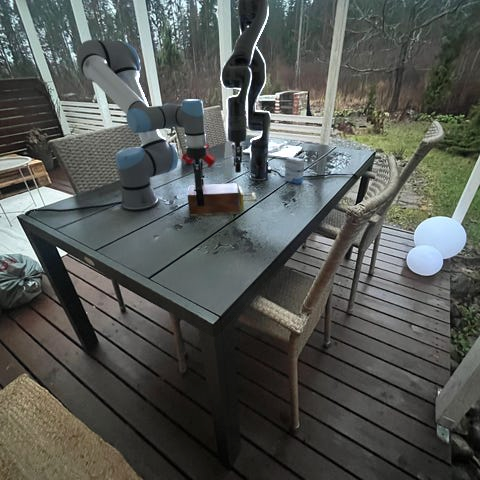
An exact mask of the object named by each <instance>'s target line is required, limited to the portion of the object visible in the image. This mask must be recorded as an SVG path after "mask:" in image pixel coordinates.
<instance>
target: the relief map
mask: <svg viewBox="0 0 480 480" xmlns="http://www.w3.org/2000/svg"><path fill="white" fill-rule="evenodd" d="M302 147H303V146H294V145H292V144H290V143H289V142H288V141H284V142H282V143H280V144H279V143H278V142H276V141H273V140H272V139H271V138H269V145H268V157H271V158H277V159H285V160H286V159H287V158H289V157H296V156H297V155H298V154H299V153H300V152H302V151H303V150H304V148H303V149H302ZM250 148H251V145H250V146H249V147H248V148H247V149H245V150H242V154H247V155H248V154H249V155H250ZM296 153H297V154H296Z"/></svg>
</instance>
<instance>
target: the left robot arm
mask: <svg viewBox="0 0 480 480" xmlns="http://www.w3.org/2000/svg"><path fill="white" fill-rule="evenodd" d="M75 59H76V64H77V66H78V69H79V71H80V72H81V73H82V75H83V76H84V77H85V78H86V79H87V80H88V81H89V82H92V83H94V84H95V85H97V86H98V87H99V89H100V90H102V91H103V93H104V94H105V95H106V96H107V97H108V98H109V99H111V101H112V102H113V103H114V104H115V105H116V106H117V107H118V108H119V109H120V110H121V111H122V112H123V113H124V114H125V118H126V119H125V120H126V122H127V126H129V129H130V131H132V133H135V134H138V136H139V138H140V141H141V145H140V146H133V147H126V148H123V149H122V150H120V151H118V152H117V153H116V154H115V158H114V159H115V166H116V169H117V172H118V173H117V174H118V175H119V177H118V178H119V180H120V184H121V187H122V194H121V200H120V201H115V202H110V203H105V204H98V205H97V204H95V205H89V206H79V207H74V208H73V207H72V208H63V209H59V208H57V209H56V208H31V209H29V210H27V211H26V212H25V213H24V214H25V216H28V215H30V214H31V213H32V212H56V213H57V212H58V213H65V212H73V211H74V212H75V211H81V210H89V209H96V208H97V209H98V208H106V207H111V206H115V205H116V206H117V205H122V208H123V209H124V210H126V211H129V212H130V211H131V212H138V211H139V212H141V211H145V210H146V211H147V210H150V209H152V208H153V207H155V206H156V205H158V203H159V198H158V196H157V193H156V192H155V190H154V188H153V186H152V184H151V178H153V177H156V176H160V175H163V174H168V173H169V172H172V171H174V170H175V169H176V168H177V167H178V163H179V155H178V150H177V148H176V147H175V146H174V145H173V144H172V143H168V141H167V138H165V137H163V136H162V135H161V133H160V130H165V129H171V128H175V127H179V128H183V130H184V132H183V134H184V137H183V140H184V141H185V146H186V147H185V151H186V152H187V157H188V158H191V159H194V161H193V162H191V165H192V170H193V174H194V185H195V190H194V192H195V191H196V198H197V206H204V197H203V189H202V185H205V184H204V182H205V181H204V179H205V178H206V177H205V174H204V173H203V172H204V171H203V170H204V169H203V168H204V160H203V159H202V160H201V158H205V157H206V156H207V152H208V149H207V150H206V146H205V145H206V142H207V137H206V136H207V133H206V123H205V110H204V104H203V100H201V99H196V98H195V99H193V98H189V99H188V98H186V99H182V100H181V101H180V104H177V103H173V102H172V103H171V102H170V103H164V104H162V105H155V106H149V104H148V101H147V98H146V97H145V93H144V92H143V89H142V87H141V84H140V82H139V78H140V72H141V64H140V63H141V61H140V57H139V54H138V52H137V51H136V49H135V48H134V46H133V45H131V44H130V43H129V42H126V41H122V40H101V39H100V40H98V39H87V40H85V41H83V42H82V43H81V44H80V45H79V46H78V48H77V50H76V57H75ZM37 209H38V210H37ZM34 210H35V211H34ZM31 211H32V212H31Z"/></svg>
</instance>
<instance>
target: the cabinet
mask: <svg viewBox="0 0 480 480" xmlns="http://www.w3.org/2000/svg"><path fill="white" fill-rule="evenodd" d="M202 189H203V197H204V206H197V198H196V191H195V192H194V190H195V184H189V185H188V188H187V204H188V213H189V217H203V216H205V217H206V216H221V215H223V216H224V215H238V214H240V206H239V192H238V185H237V182H234V183H233V182H232V183H209V184H208V183H207V184H204V185H202Z"/></svg>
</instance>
